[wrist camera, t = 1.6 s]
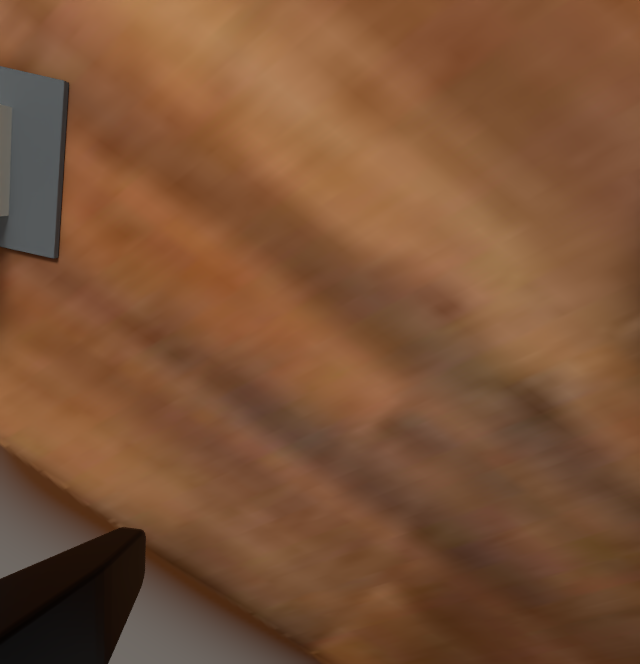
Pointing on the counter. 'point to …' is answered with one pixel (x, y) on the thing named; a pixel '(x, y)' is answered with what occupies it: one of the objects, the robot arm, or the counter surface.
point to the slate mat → (34, 161)
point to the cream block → (5, 157)
